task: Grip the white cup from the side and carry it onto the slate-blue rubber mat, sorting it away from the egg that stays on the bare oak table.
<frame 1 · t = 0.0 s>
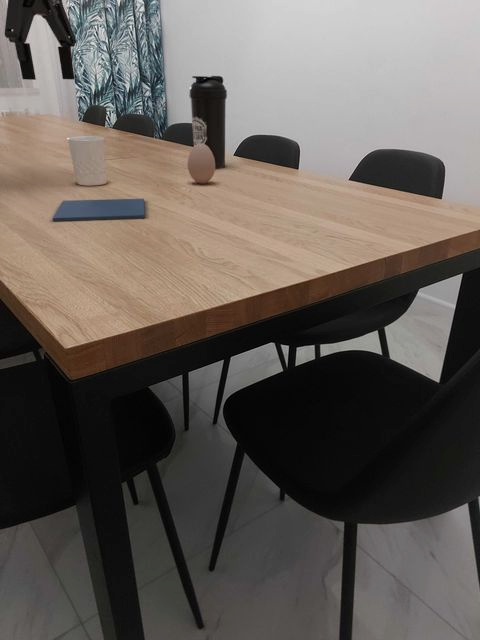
hand: (50, 79, 111), 22 cm above the table, tool pointing down, fingers open, 13 cm apart
glassware mat: (102, 210, 97), on the table
egg: (202, 184, 122), on the table
white cup: (92, 184, 120), on the table
water bottle: (210, 167, 145), on the table
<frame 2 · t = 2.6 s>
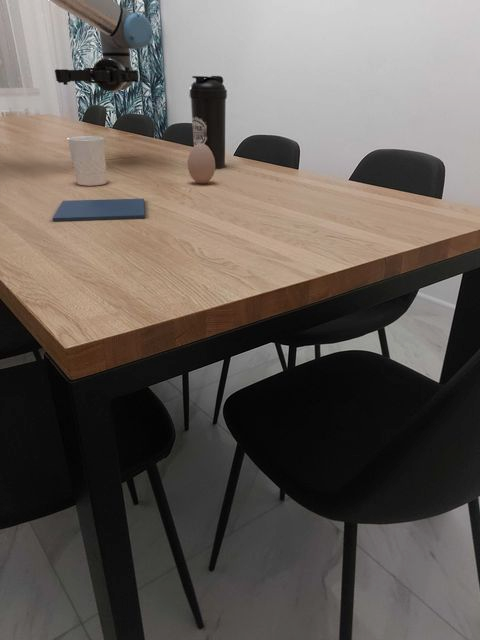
hand: (88, 76, 117), 22 cm above the table, tool horizontal, fingers open, 13 cm apart
nothing on the table moved.
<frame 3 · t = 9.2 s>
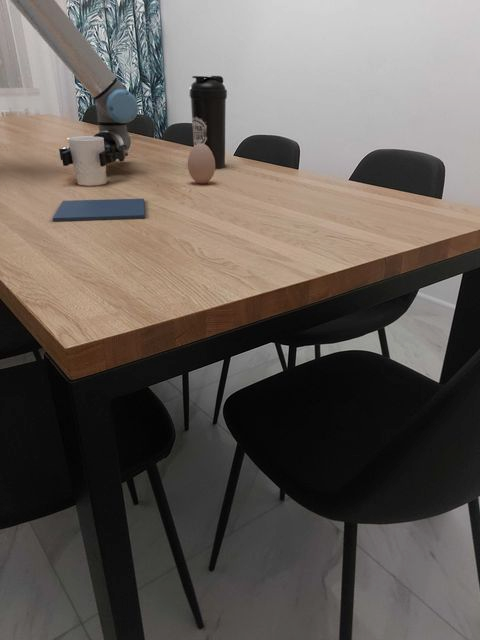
hand: (82, 159, 113), 6 cm above the table, tool horizontal, fingers closed on white cup, 8 cm apart
white cup: (92, 184, 120), on the table, touching gripper
everything else where it was.
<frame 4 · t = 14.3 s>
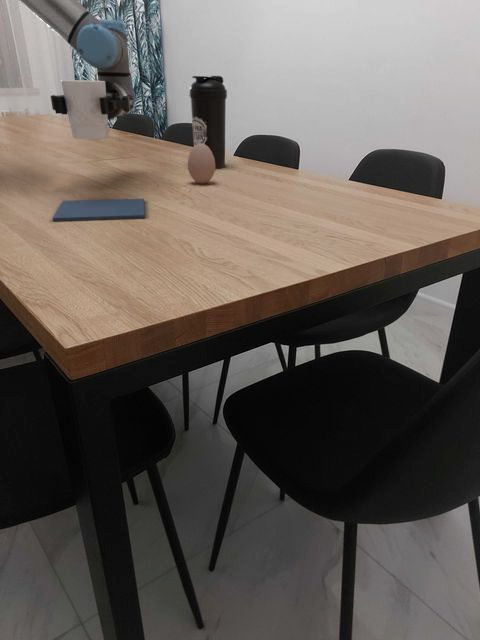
hand: (79, 105, 92), 18 cm above the table, tool horizontal, fingers closed on white cup, 8 cm apart
white cup: (91, 139, 99), point 12 cm above the table, touching gripper
everything else where it was.
when the fingers open (7 cm above the table, at t = 19.2 s): white cup stays where it is, resting on glassware mat.
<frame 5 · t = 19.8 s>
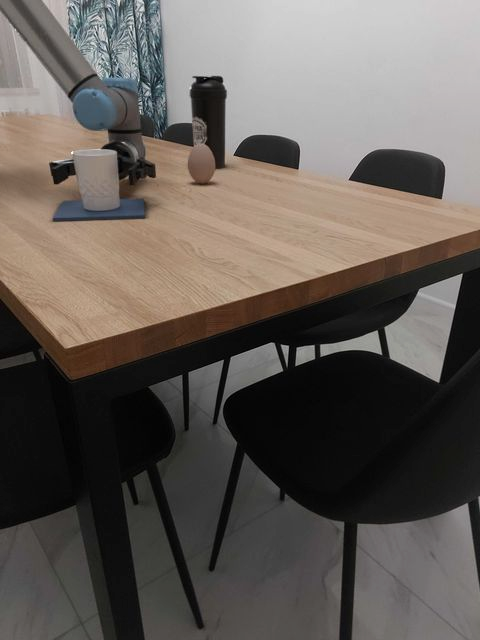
hand: (92, 177, 91), 7 cm above the table, tool horizontal, fingers open, 13 cm apart
white cup: (102, 208, 97), resting on glassware mat
everything else where it was.
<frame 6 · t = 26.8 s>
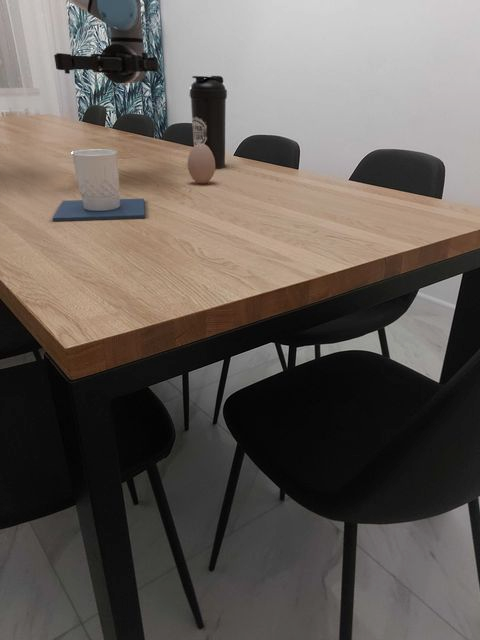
hand: (96, 62, 93), 25 cm above the table, tool horizontal, fingers open, 13 cm apart
nothing on the table moved.
at the end: white cup inside the target area on the glassware mat (0.0 cm from its centre), point 0.4 cm above the glassware mat's base; white cup tilted 0°; the gripper is holding nothing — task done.
